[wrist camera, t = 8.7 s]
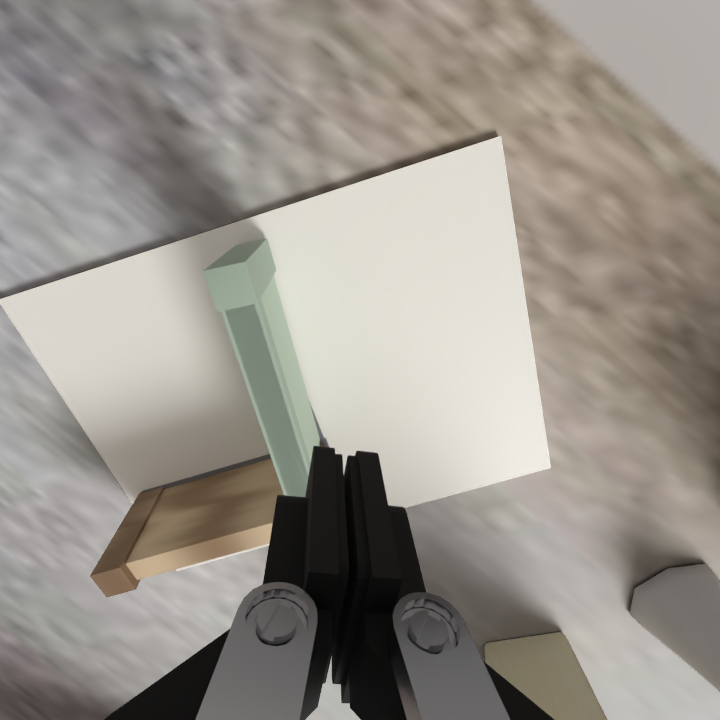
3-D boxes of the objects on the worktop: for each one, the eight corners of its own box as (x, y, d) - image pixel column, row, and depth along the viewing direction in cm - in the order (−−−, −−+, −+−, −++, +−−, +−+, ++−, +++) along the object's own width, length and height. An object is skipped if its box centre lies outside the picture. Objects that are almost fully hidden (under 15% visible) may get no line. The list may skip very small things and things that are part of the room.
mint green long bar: (322, 437, 26) (320, 508, 21) (296, 442, 26) (287, 514, 21) (267, 238, 22) (245, 261, 16) (235, 245, 22) (202, 271, 16)
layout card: (178, 567, 30) (176, 571, 30) (1, 298, 22) (-4, 300, 22) (548, 464, 29) (551, 468, 28) (498, 136, 21) (501, 135, 21)
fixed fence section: (152, 513, 28) (107, 598, 22) (138, 491, 27) (89, 574, 22) (333, 461, 27) (333, 536, 22) (324, 438, 27) (321, 509, 21)
